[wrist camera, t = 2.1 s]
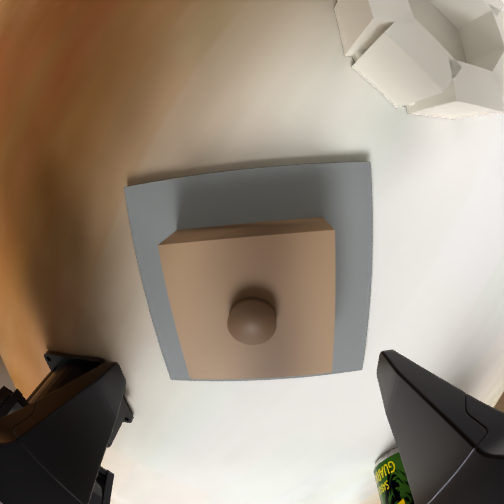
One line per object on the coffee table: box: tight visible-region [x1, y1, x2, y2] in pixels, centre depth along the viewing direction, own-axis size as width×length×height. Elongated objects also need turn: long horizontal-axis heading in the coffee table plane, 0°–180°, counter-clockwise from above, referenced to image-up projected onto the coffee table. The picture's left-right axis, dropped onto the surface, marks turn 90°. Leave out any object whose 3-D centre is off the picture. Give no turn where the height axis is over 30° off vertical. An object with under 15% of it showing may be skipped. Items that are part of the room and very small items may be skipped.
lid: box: [158, 217, 335, 379], centre depth 13 cm, size 7×7×3 cm
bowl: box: [334, 0, 504, 119], centre depth 8 cm, size 9×9×4 cm
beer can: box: [374, 447, 415, 504], centre depth 14 cm, size 5×5×12 cm
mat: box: [124, 162, 373, 381], centre depth 15 cm, size 12×12×1 cm
